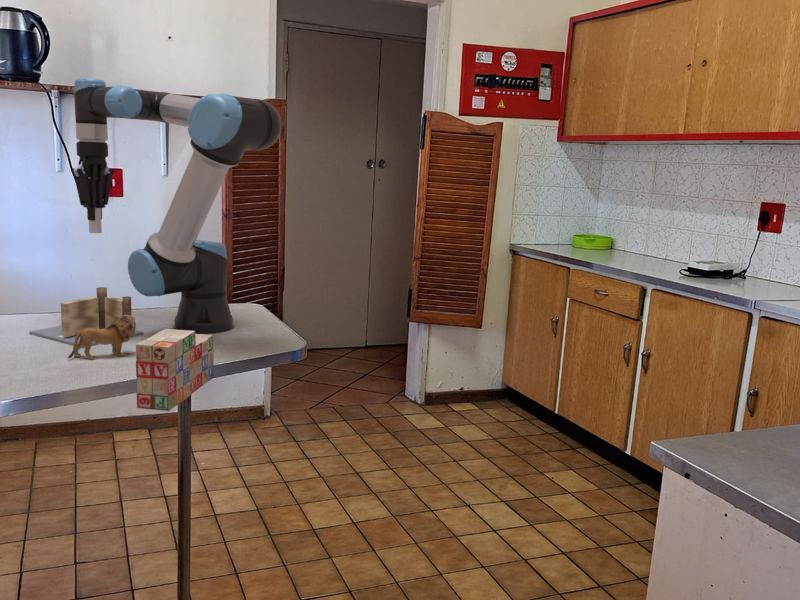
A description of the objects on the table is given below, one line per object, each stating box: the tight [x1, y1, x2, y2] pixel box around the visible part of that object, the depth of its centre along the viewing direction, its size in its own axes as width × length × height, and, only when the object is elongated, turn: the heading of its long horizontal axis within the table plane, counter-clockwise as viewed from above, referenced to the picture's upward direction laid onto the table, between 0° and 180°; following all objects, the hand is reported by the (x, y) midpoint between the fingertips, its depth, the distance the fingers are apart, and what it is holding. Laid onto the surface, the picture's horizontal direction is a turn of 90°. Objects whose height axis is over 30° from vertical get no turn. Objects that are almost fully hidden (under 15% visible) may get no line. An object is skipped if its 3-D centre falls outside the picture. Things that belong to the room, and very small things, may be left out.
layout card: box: [29, 324, 144, 349], centre depth 183 cm, size 20×18×1 cm
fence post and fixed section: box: [96, 286, 133, 339], centre depth 184 cm, size 12×2×11 cm, turn 59°
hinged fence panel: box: [60, 296, 99, 337], centre depth 180 cm, size 10×2×8 cm, turn 157°
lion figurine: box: [67, 315, 137, 360], centre depth 164 cm, size 15×5×9 cm, turn 127°
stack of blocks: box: [135, 328, 215, 412], centre depth 143 cm, size 21×6×12 cm, turn 172°
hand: (95, 232), depth 195 cm, fingers closed
